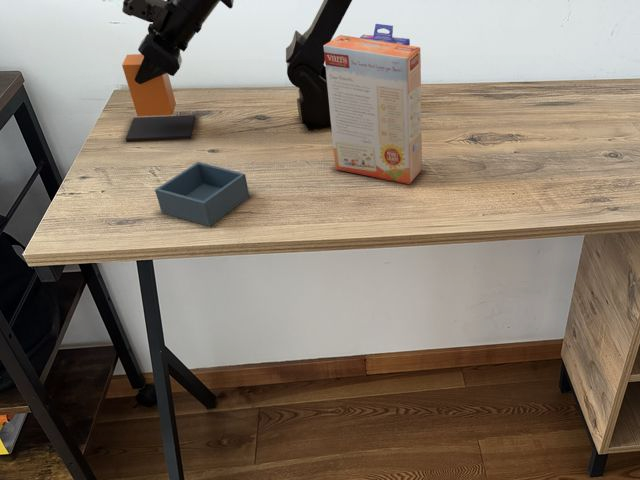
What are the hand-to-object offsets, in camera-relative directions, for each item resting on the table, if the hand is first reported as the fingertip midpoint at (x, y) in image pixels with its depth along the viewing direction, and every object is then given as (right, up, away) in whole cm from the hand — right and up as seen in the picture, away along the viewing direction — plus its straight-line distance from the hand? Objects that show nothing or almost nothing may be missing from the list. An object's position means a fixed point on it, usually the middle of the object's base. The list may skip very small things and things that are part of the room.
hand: (139, 76), depth 119 cm
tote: (+16, -25, -12) cm, 32 cm away
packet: (+1, -4, +4) cm, 6 cm away
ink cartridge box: (+41, +3, +20) cm, 45 cm away
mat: (+1, -7, +7) cm, 10 cm away
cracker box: (+42, -17, -1) cm, 45 cm away
